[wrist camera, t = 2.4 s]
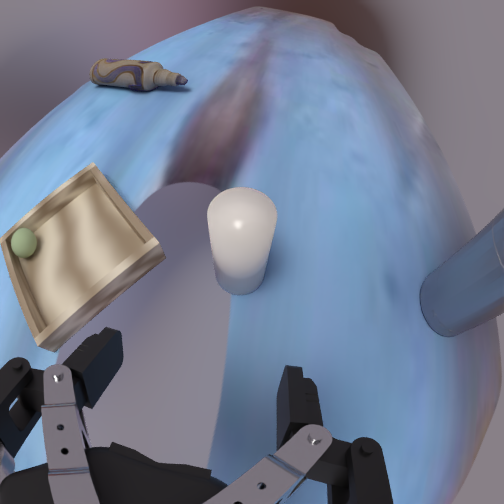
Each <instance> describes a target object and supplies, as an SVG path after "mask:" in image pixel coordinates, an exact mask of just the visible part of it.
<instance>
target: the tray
mask: <svg viewBox="0 0 504 504" xmlns="http://www.w3.org/2000/svg"><path fill="white" fill-rule="evenodd" d="M20 228H28V229H30V230H31V231H32V232H33V233H34V234H35V236H36V240H37V246H36V249H35V251H34V253H33V254H32V255H31V256H29V257H27V258H20V257H18V256H17V255H16V254H15V253H14V252H13V250H12V247H11V240H12V236H13V234H14V233H15V232H16V231H17V230H18V229H20ZM0 243H1V247H2V251H3V255H4V258H5V262H6V265H7V269H8V272H9V275H10V278H11V281H12V284H13V287H14V290H15V293H16V296H17V298H18V301H19V304H20V306H21V309H22V311H23V314H24V316H25V319H26V321H27V324H28V326H29V328H30V330H31V333H32V335H33V337H34V339H35V341H36V344H37V346H39V347H41V348H44V349H46V350H49V351H52V352H56V351H57V350H58V349H59V348H60V347H61V346H62V345H63V344H64V343H66V342H67V341H68V340H69V339H70V338H71V337H72V336H73V335H74V334H76V333H77V332H78V331H79V330H80V329H81V328H82V327H84V325H86V324H87V323H88V322H89V321H90V320H92V319H93V318H94V317H95V316H96V315H97V314H99V312H101V311H102V310H103V309H104V308H106V306H108V305H109V304H110V303H111V302H112V301H114V300H115V299H116V298H117V297H119V296H120V295H121V294H122V293H123V292H125V291H126V290H127V289H128V288H129V287H131V286H132V285H133V284H134V283H136V282H137V281H138V280H139V279H140V278H142V277H143V276H144V275H145V274H147V273H148V272H149V271H150V270H151V269H153V268H154V267H155V266H156V265H158V264H159V263H160V262H162V261H163V260H164V259H165V258H166V257H165V254H164V252H163V250H162V248H161V245H160V243H159V242H158V241H157V239H156V238H155V237H154V236H153V235H152V234H151V233H150V231H149V230H148V229H147V228H146V227H145V225H144V224H143V223H142V222H141V221H140V220H139V219H138V217H137V216H136V215H135V214H134V212H133V211H132V210H131V209H130V208H129V206H128V205H127V204H126V203H125V202H124V200H123V199H122V198H121V197H120V195H119V194H118V193H117V192H116V190H115V189H114V188H113V187H112V185H111V184H110V183H109V182H108V180H107V179H106V178H105V177H104V175H103V174H102V173H101V172H100V170H99V169H98V168H97V166H96V165H95V164H94V163H91V164H90V165H88V166H87V167H85V168H84V169H83V170H81V171H80V172H78V173H77V174H76V175H74V176H73V177H72V178H70V179H69V180H68V181H66V182H65V183H64V184H62V185H61V186H60V187H58V188H57V189H56V190H55V191H53V192H52V193H51V194H50V195H48V196H47V197H46V198H45V199H43V200H42V201H41V202H40V203H39V204H37V205H36V206H35V207H34V208H33V209H32V210H30V211H29V212H28V213H27V214H26V215H25V216H24V217H22V218H21V219H20V220H19V221H18V222H17V223H16V224H15V225H14V226H13V227H12V228H11V229H10V230H8V231H7V232H6V233H5V234H4V235H3V236H2V237H1V238H0Z"/></svg>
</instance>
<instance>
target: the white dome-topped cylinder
mask: <svg viewBox="0 0 504 504" xmlns="http://www.w3.org/2000/svg"><path fill="white" fill-rule="evenodd" d="M207 219H208V226H209V234H210V241H211V248H212V255H213V262H214V270H215V276H216V280H217V282H218V284H219V285H220V286H221V288H222V289H223V290H225V291H226V292H228V293H230V294H234V295H246V294H249V293H252V292H253V291H255V290H256V289H257V288H258V287H259V286H260V285H261V283H262V281H263V278H264V274H265V269H266V265H267V261H268V257H269V252H270V248H271V244H272V239H273V235H274V230H275V226H276V221H277V211H276V207H275V205H274V203H273V202H272V201H271V199H270V198H269V197H268V196H266V195H265V194H264V193H262V192H260V191H258V190H256V189H252V188H247V187H236V188H231V189H228V190H225V191H223V192H221V193H220V194H218V195H217V196H216V197H215V198H214V199H213V200H212V202H211V203H210V205H209V208H208V212H207Z"/></svg>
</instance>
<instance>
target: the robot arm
mask: <svg viewBox="0 0 504 504" xmlns="http://www.w3.org/2000/svg"><path fill="white" fill-rule="evenodd" d="M420 301H421V307H422V311H423V314H424V317H425V319H426V320H427V322H428V324H429V325H430V326H431V328H432V329H433V330H434V331H436V332H437V333H438V334H440V335H442V336H446V337H452V336H455V335H458V334H460V333H462V332H465V331H467V330H469V329H471V328H474V327H476V326H478V325H480V324H483V323H485V322H487V321H489V320H491V319H493V318H495V317H497V316H499V315H501V314H502V313H504V209H503V210H502V211H501V212H500V213H499V214H498V215H497V216H496V217H495V218H494V219H493V220H492V221H491V222H490V223H489V224H488V225H487V226H485V228H483V230H481V231H480V232H479V233H478V234H477V235H476V236H475V237H474V238H472V239H471V240H470V241H469V242H468V243H467V244H466V245H465V246H463V247H462V248H461V249H460V250H459V251H458V252H457V253H455V254H454V255H453V256H452V257H451V258H449V259H448V260H447V261H446V262H444V263H443V264H442V265H441V266H440V267H438V268H437V269H436V270H435V271H433V272H432V273H431V274H430V275H429V276H428V277H427V278H426V279H425V280H424V282H423V284H422V287H421V293H420ZM122 362H123V346H122V335H121V332H120V331H118V330H115V329H111V328H108V327H106V328H104V329H103V330H102V331H101V332H100V333H99V335H98V334H94V335H92V336H90V337H88V338H86V339H85V340H84V341H83V342H82V344H81V345H80V346H79V347H78V348H77V349H76V350H75V351H74V352H73V353H72V354H71V355H70V356H69V357H68V358H67V359H66V360H65V361H64V363H63V364H62V365H59V364H56V365H52V366H49V367H48V368H47V369H46V370H45V371H44V370H38V369H33V368H31V366H30V363H29V362H28V360H26V359H24V358H21V357H17V358H13V359H11V360H9V361H8V362H7V363H6V364H5V365H4V366H3V367H2V368H1V369H0V504H284V503H285V502H286V501H287V500H288V499H289V498H290V497H291V496H292V495H293V494H294V493H295V491H296V490H297V489H298V488H299V487H300V486H301V485H302V484H303V483H304V482H305V481H306V480H307V479H312V480H315V481H319V482H323V483H326V484H327V496H328V504H393V499H392V494H391V489H390V484H389V479H388V474H387V470H386V465H385V461H384V456H383V452H382V448H381V446H380V445H379V443H378V442H376V441H375V440H373V439H371V438H367V437H361V438H358V439H356V440H354V441H353V443H349V442H345V441H341V440H338V439H335V438H333V437H332V435H331V433H330V432H329V431H328V430H327V429H326V428H324V427H323V422H322V416H321V410H320V404H319V398H318V392H317V386H316V385H315V383H314V382H313V381H312V379H310V378H303V371H302V367H297V366H288V365H286V366H285V368H284V372H283V375H282V378H281V382H280V385H279V388H278V393H277V452H276V453H275V454H273V455H272V456H271V455H267V456H266V457H264V458H263V459H262V460H261V461H259V462H258V463H257V464H256V465H255V466H253V467H252V468H251V469H250V470H248V471H247V472H246V473H245V474H243V475H242V476H241V477H239V478H238V479H237V480H235V481H234V482H233V483H231V484H230V485H229V486H228V485H227V484H225V483H224V482H222V481H220V480H218V479H216V478H214V477H212V476H211V470H209V469H204V468H199V467H194V466H190V465H186V464H166V463H158V462H155V461H153V460H152V459H150V458H148V457H146V456H144V455H143V454H141V453H139V452H138V451H136V450H134V449H131V448H128V447H125V446H122V445H119V444H117V443H114V442H112V443H111V445H110V447H92V445H91V442H90V439H89V434H88V431H87V426H86V422H85V418H84V413H83V410H82V408H83V406H86V407H88V408H91V409H92V408H93V407H94V405H95V404H96V402H97V401H98V399H99V398H100V397H101V395H102V393H103V392H104V391H105V389H106V388H107V386H108V385H109V383H110V382H111V380H112V379H113V377H114V376H115V374H116V373H117V372H118V370H119V368H120V367H121V365H122ZM16 398H18V400H17V402H16V403H15V404H14V405H13V407H12V408H11V409H10V411H9V407H10V405H11V404H12V403H13V401H14V400H15V399H16ZM41 416H42V424H43V433H44V442H45V449H46V455H47V461H48V463H45V464H41V465H38V466H35V467H32V468H28V469H25V470H21V471H18V472H15V471H14V468H15V462H14V457H15V456H16V454H17V452H18V451H19V449H20V448H21V446H22V444H23V443H24V441H25V440H26V438H27V437H28V435H29V434H30V432H31V430H32V429H33V427H34V426H35V424H36V423H37V421H38V420H39V418H40V417H41Z"/></svg>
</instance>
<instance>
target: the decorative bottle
mask: <svg viewBox="0 0 504 504" xmlns="http://www.w3.org/2000/svg"><path fill="white" fill-rule="evenodd" d="M90 79H91V81H92V83H94V84H97V85H99V84H102V85H111V86H120V87H128V88H130V89H131V90H135V91H151V90H153V89H156V88H158V87H161V86H167V85H171V86H178V85H185V84H186V83H187V81H188V80H187V79H186V78H185V77H184V76H181V74H179V73H172V72H171V71H169V70H166V69H163V67H162V65H161V64H160V63H158V62H151V61H141V60H120V59H100V60H98V61H97V62H96V63H95V64H94V65H93V66H92V68H91V70H90ZM158 85H159V86H158ZM132 88H134V89H132Z"/></svg>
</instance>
